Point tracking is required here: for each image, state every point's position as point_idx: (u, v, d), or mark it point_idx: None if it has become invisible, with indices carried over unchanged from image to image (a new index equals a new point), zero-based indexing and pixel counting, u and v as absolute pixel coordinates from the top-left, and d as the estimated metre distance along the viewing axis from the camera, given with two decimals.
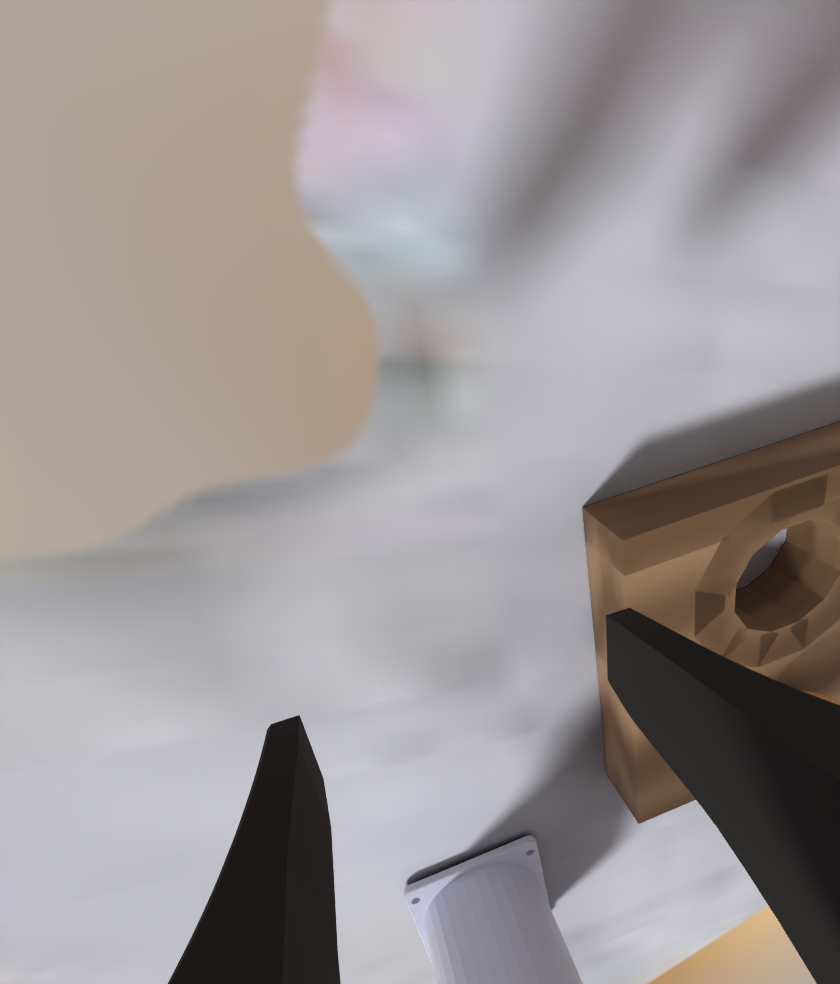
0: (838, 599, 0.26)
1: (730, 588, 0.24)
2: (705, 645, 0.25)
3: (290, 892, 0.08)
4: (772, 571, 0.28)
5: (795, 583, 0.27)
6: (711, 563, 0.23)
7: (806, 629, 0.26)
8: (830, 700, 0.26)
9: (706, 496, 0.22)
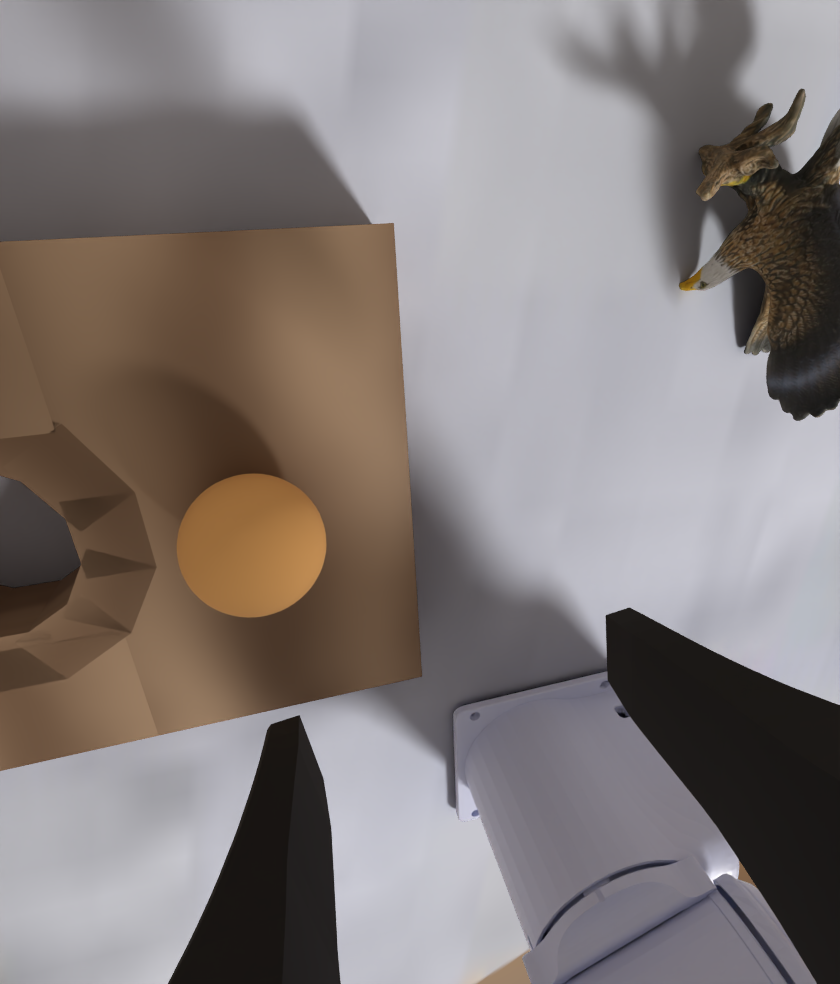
0: (24, 451, 0.15)
1: None
2: (89, 659, 0.18)
3: (290, 892, 0.08)
4: None
5: None
6: None
7: (90, 496, 0.16)
8: None
9: None
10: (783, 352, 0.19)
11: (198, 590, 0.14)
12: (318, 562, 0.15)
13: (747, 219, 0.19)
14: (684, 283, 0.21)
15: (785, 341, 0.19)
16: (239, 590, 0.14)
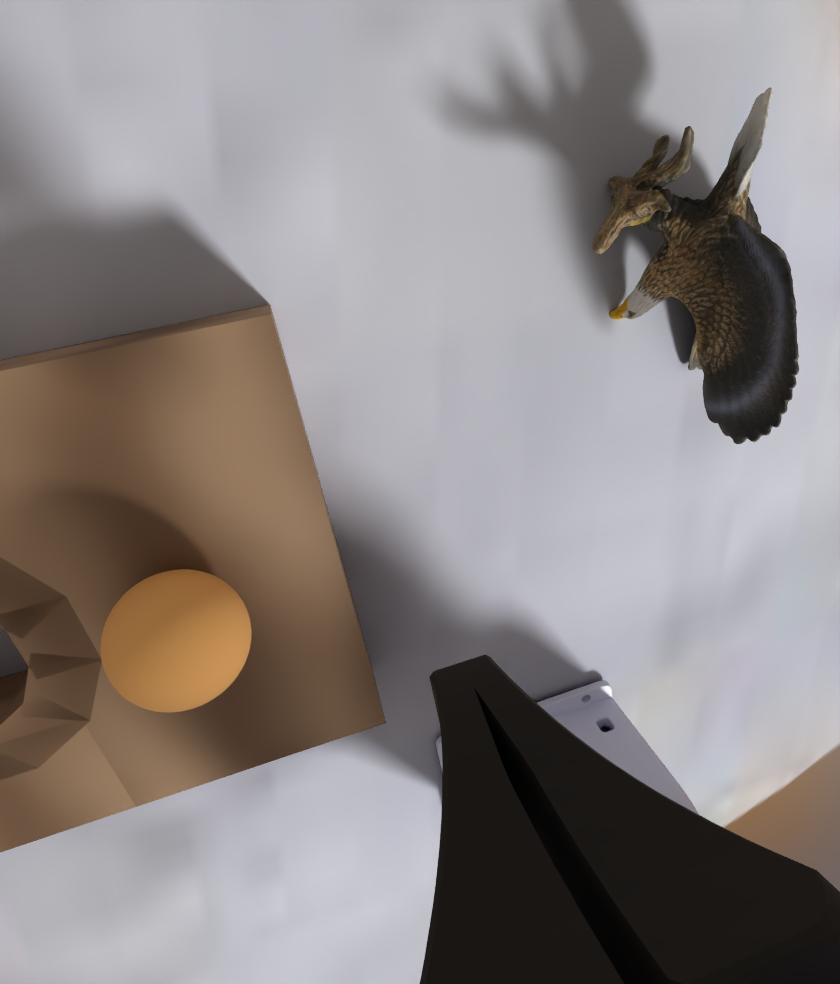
0: None
1: None
2: (55, 749, 0.19)
3: None
4: None
5: None
6: None
7: (25, 606, 0.17)
8: None
9: None
10: (715, 377, 0.19)
11: (123, 695, 0.15)
12: (238, 653, 0.15)
13: (662, 249, 0.18)
14: (614, 312, 0.21)
15: (715, 367, 0.19)
16: (158, 695, 0.14)
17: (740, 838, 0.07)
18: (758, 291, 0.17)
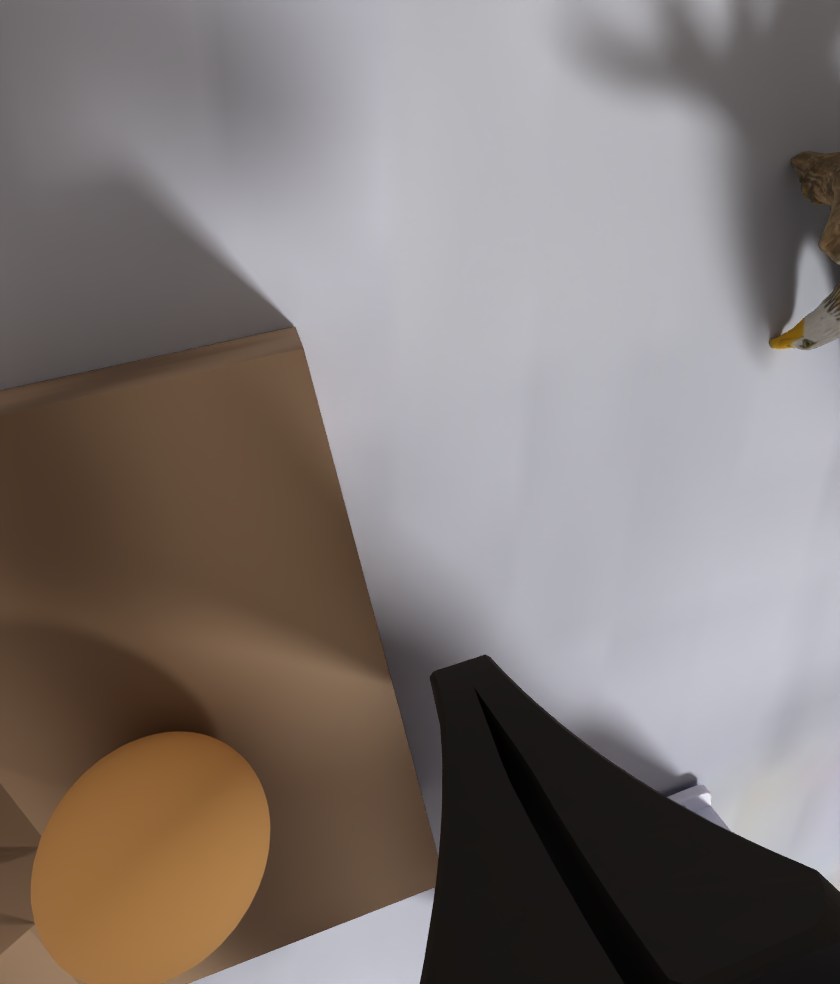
0: None
1: None
2: None
3: None
4: None
5: None
6: None
7: None
8: None
9: None
10: None
11: None
12: (252, 881, 0.10)
13: None
14: (777, 340, 0.15)
15: None
16: (120, 981, 0.09)
17: (740, 838, 0.07)
18: None
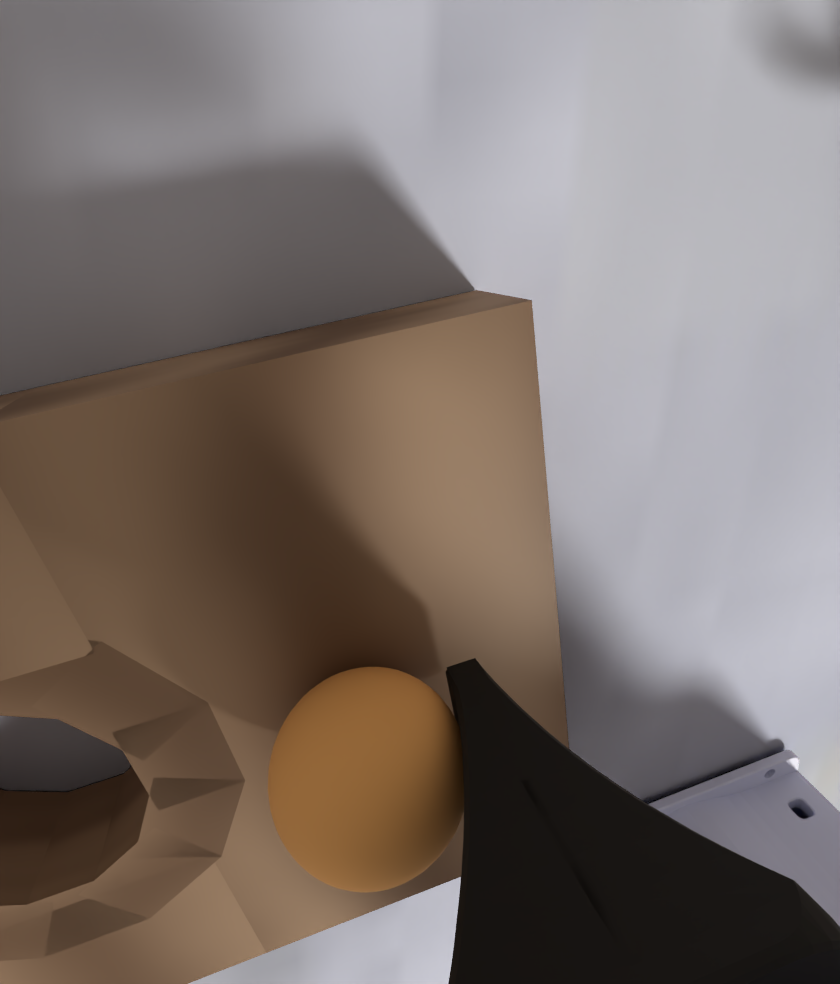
0: (56, 682, 0.11)
1: (35, 910, 0.13)
2: (173, 893, 0.14)
3: None
4: None
5: None
6: None
7: (151, 718, 0.12)
8: (272, 750, 0.11)
9: None
10: None
11: (302, 866, 0.10)
12: (462, 807, 0.10)
13: None
14: None
15: None
16: (359, 880, 0.09)
17: (719, 847, 0.07)
18: None
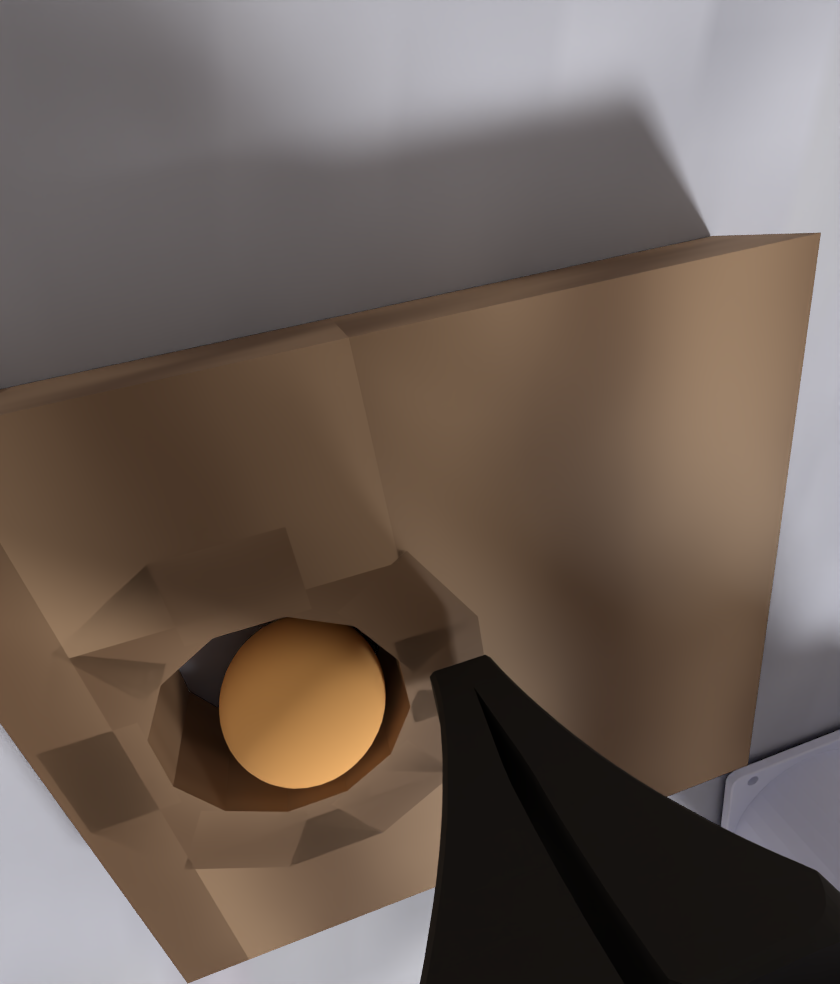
0: (362, 590, 0.12)
1: (293, 817, 0.14)
2: (407, 808, 0.15)
3: None
4: None
5: None
6: (237, 865, 0.14)
7: (428, 630, 0.13)
8: (368, 698, 0.13)
9: None
10: None
11: None
12: None
13: None
14: None
15: None
16: None
17: (740, 838, 0.07)
18: None
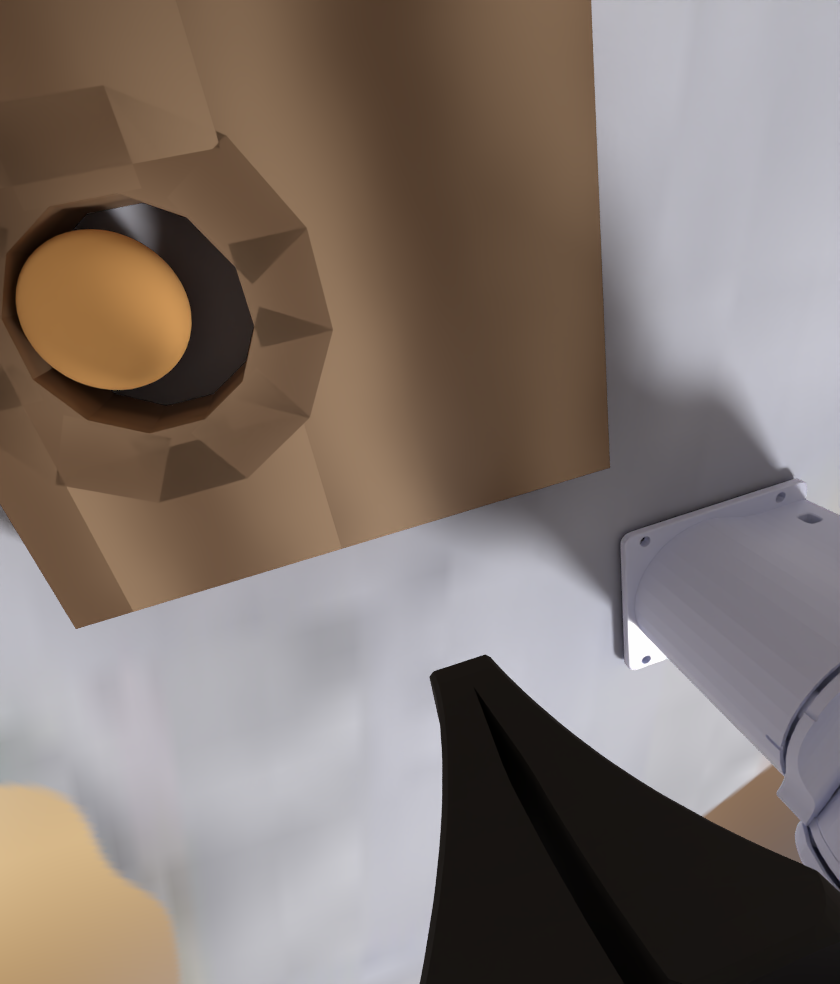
0: (188, 174, 0.13)
1: (156, 441, 0.15)
2: (268, 453, 0.16)
3: None
4: None
5: None
6: (107, 490, 0.15)
7: (260, 237, 0.14)
8: (106, 271, 0.13)
9: None
10: None
11: (183, 316, 0.14)
12: None
13: None
14: None
15: None
16: None
17: (740, 838, 0.07)
18: None
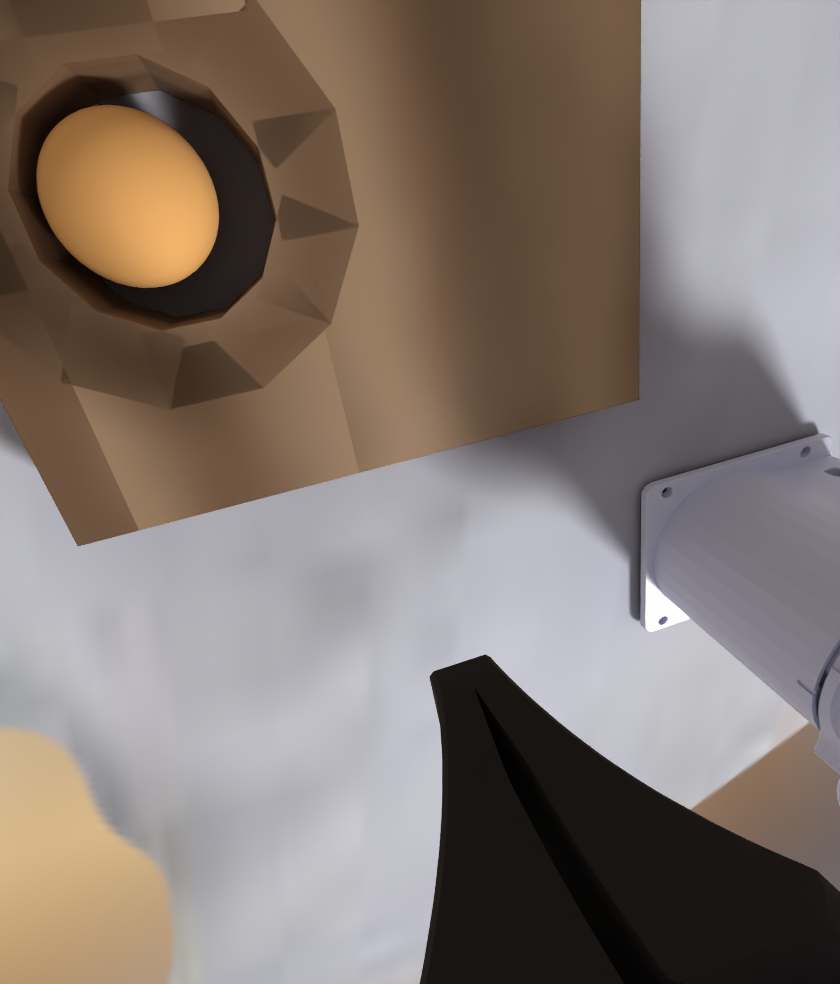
0: (212, 38, 0.12)
1: (168, 340, 0.14)
2: (286, 361, 0.15)
3: None
4: (223, 120, 0.15)
5: (216, 106, 0.14)
6: (116, 392, 0.14)
7: (286, 116, 0.13)
8: (145, 147, 0.12)
9: None
10: None
11: (215, 208, 0.14)
12: None
13: None
14: None
15: None
16: None
17: (740, 838, 0.07)
18: None
